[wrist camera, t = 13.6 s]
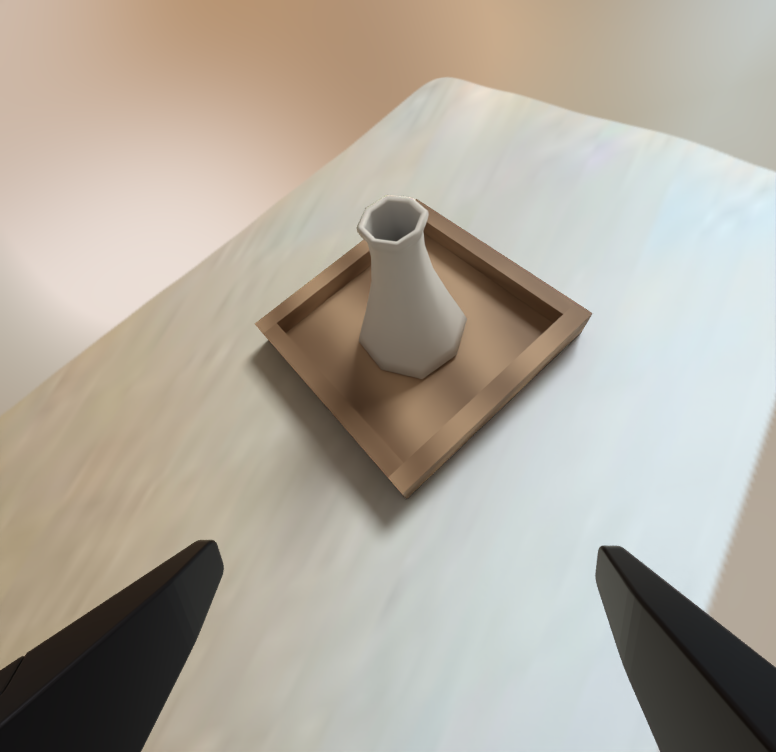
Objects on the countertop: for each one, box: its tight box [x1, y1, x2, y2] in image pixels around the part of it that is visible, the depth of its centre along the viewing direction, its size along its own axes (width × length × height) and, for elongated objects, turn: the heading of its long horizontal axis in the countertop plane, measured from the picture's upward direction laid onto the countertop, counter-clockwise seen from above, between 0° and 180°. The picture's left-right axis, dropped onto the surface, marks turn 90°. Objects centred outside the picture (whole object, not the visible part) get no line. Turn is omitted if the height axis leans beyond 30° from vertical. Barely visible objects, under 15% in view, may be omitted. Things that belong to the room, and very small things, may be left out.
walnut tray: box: [255, 199, 592, 499], centre depth 26 cm, size 16×16×2 cm
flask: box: [357, 195, 467, 379], centre depth 22 cm, size 7×7×10 cm
